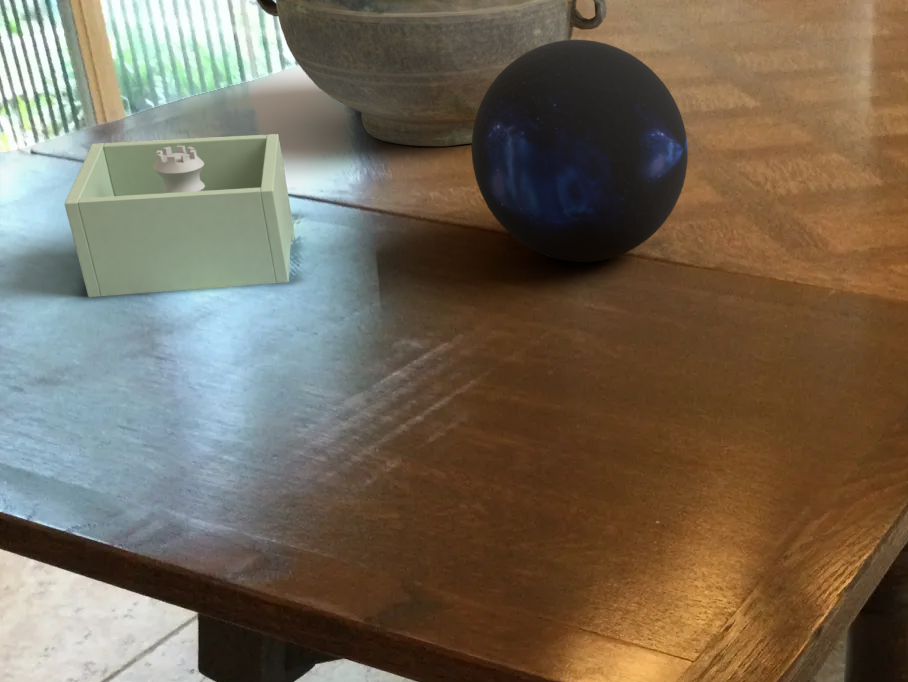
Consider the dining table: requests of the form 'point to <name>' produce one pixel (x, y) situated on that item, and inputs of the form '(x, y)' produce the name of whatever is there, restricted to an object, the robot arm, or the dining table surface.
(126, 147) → the green open box
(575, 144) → the decorative sphere
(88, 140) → the dining table surface
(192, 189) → the rook chess piece
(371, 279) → the dining table surface
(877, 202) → the dining table surface
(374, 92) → the bowl
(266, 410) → the dining table surface
